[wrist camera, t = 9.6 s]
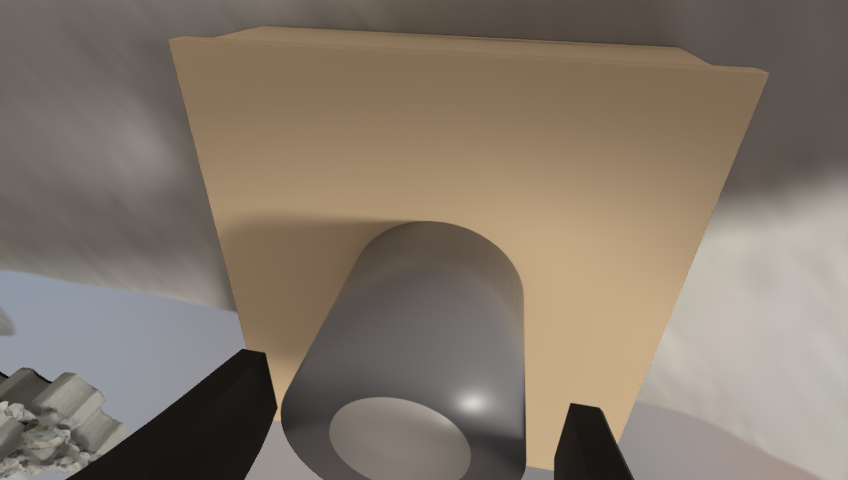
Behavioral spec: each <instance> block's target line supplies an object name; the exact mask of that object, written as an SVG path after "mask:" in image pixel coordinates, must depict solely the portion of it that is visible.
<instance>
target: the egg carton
mask: <svg viewBox="0 0 848 480" xmlns="http://www.w3.org/2000/svg"><path fill="white" fill-rule="evenodd" d="M104 402H105V399H104V397H103V395H102V394H101V392H100V391H99V390H98V389H96V388H95V387H93V386H91V385H90V384H88V383H87V382H85V381H84V380H83V379H82V378H81V377H80V376H79V375H78V374H77V373H70V372H64V373H63V374H62V375H60V376H59V377H58V378H57V379H56V380H55V381H54V382H52V381H49V380H47V379H45V378H44V377H42V376H41V375H39V374H38V373H37V372H36V371H35V370H34V369H31V368H25V367H23V368H21V369H19V370H18V371H16V372H15V373H14V374H13V375H12V376H10V377H9V376H7V375H5V374H4V373H2V372H0V478H3V477H5V478H7V477H9V476H11V475H13V474H14V473H16V472H17V471H26V472H30V473H31V474H39V473H41V472H43V471H48V472H56V471H60V472H62V473H64V474H75V473H77V472H78V471H80V470H81V469H83V468H84V467H86V466H87V465H89V464H90V463H92V462H93V461H95V460H96V459H98V458H99V457H101V456H102V455H104V454H105V453H107V452H108V451H109V450H111V449H112V448H114V447H115V446H116V445H117V444H118V443H119V442H120V441H121V440H122V438H123V437H124V436H125V435H126V434H127V431H126V429H125V427H124V425H123V422H119V421H117V420H116V419H113V418H112V417H110V416H109V415H108V414H106V413H105V412H104V411H103V410H102V409H101V407H100V405H101V404H102V403H104Z"/></svg>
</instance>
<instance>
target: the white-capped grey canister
mask: <svg viewBox="0 0 848 480" xmlns="http://www.w3.org/2000/svg"><path fill="white" fill-rule="evenodd" d="M280 413H281V423H282V427H283V431H284V434H285V436H286V438H287V440H288V442H289V444H290V445H291V447H292V449H293V450H294V452H295V453H296V454H297V455H298V457H299V458H300V459H301V460H302V461H303V462H304V463H305V464H306V465H307V466H308V467H309V468H310V469H311V470H312V471H313V472H315V473H316V474H317V475H318V476H319V477H321V478H322V479H323V480H521V479H522V476H523V474H524V472H525V466H526V462H527V460H526V399H525V338H524V292H523V286H522V282H521V279H520V277H519V274H518V272H517V270H516V268H515V266H514V265H513V263H512V262H511V261H510V259H509V258H508V257H507V255H506V254H505V253H504V252H503V251H502V250H501V249H500V248H499V247H497V246H496V245H495V244H494V243H492V242H491V241H490V240H488V239H487V238H485V237H483V236H482V235H480V234H478V233H476V232H474V231H472V230H469V229H467V228H464V227H461V226H458V225H454V224H449V223H445V222H435V221H419V222H412V223H406V224H403V225H399V226H396V227H393V228H391V229H389V230H386V231H385V232H383V233H381V234H380V235H378V236H377V237H375V238H374V239H373V240H372V241H371V242H370V243H369V244H368V245H367V246H366V247H365V248H364V249H363V251H362V252H361V254H360V256H359V257H358V259H357V261H356V263H355V265H354V267H353V268H352V270H351V272H350V274H349V276H348V278H347V280H346V281H345V283H344V285H343V287H342V289H341V291H340V292H339V294H338V296H337V298H336V300H335V302H334V304H333V305H332V307H331V309H330V311H329V313H328V315H327V317H326V318H325V320H324V322H323V324H322V326H321V328H320V330H319V331H318V333H317V335H316V337H315V339H314V341H313V342H312V344H311V346H310V348H309V350H308V352H307V354H306V355H305V357H304V359H303V361H302V363H301V365H300V367H299V368H298V370H297V372H296V374H295V376H294V378H293V380H292V381H291V383H290V385H289V387H288V389H287V391H286V393H285V395H284V398H283V400H282V404H281V411H280Z"/></svg>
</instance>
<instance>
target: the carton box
mask: <svg viewBox="0 0 848 480" xmlns="http://www.w3.org/2000/svg"><path fill="white" fill-rule="evenodd" d="M214 38H230V39H248V40H266V41H284V42H302V43H320V44H338V45H356V46H374V47H392V48H410V49H428V50H445V51H463V52H481V53H499V54H517V55H535V56H553V57H571V58H589V59H607V60H625V61H643V62H661V63H679V64H697V65H711V64H709V63H707V62H705V61H703V60H701V59H699V58H698V57H696V56H694V55H692V54H690V53H688V52H686V51H685V50H683V49H681V48H679V47H661V46H642V45H623V44H603V43H584V42H565V41H545V40H526V39H507V38H487V37H468V36H449V35H429V34H410V33H391V32H371V31H352V30H333V29H313V28H294V27H275V26H259V27H255V28H251V29H247V30H242V31H238V32H234V33H230V34H226V35H222V36H218V37H214Z"/></svg>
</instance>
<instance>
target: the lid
mask: <svg viewBox="0 0 848 480" xmlns="http://www.w3.org/2000/svg"><path fill="white" fill-rule="evenodd" d="M168 42H169V46H170V50H171V54H172V58H173V62H174V66H175V70H176V73H177V77H178V81H179V85H180V89H181V93H182V97H183V101H184V105H185V109H186V113H187V117H188V120H189V124H190V128H191V132H192V136H193V140H194V144H195V148H196V152H197V156H198V160H199V164H200V167H201V171H202V175H203V179H204V183H205V187H206V191H207V195H208V199H209V203H210V207H211V211H212V214H213V218H214V222H215V226H216V230H217V234H218V238H219V242H220V246H221V250H222V254H223V258H224V261H225V265H226V269H227V273H228V277H229V281H230V285H231V289H232V293H233V297H234V301H235V305H236V308H237V312H238V316H239V320H240V324H241V328H242V332H243V336H244V340H245V344H246V348H247V350H253V351H259V352H265V353H266V357H267V362H268V366H269V370H270V375H271V379H272V384H273V388H274V392H275V397H276V401H277V406H278V409H277V411H276V414H275V416H274V419H273V420H274V421H280V422H281V413H280V411H281V404H282V400H283V398H284V395H285V393H286V391H287V389H288V387H289V385H290V383H291V381H292V380H293V378H294V376H295V374H296V372H297V370H298V368H299V367H300V365H301V363H302V361H303V359H304V357H305V355H306V354H307V352H308V350H309V348H310V346H311V344H312V342H313V341H314V339H315V337H316V335H317V333H318V331H319V330H320V328H321V326H322V324H323V322H324V320H325V318H326V317H327V315H328V313H329V311H330V309H331V307H332V305H333V304H334V302H335V300H336V298H337V296H338V294H339V292H340V291H341V289H342V287H343V285H344V283H345V281H346V280H347V278H348V276H349V274H350V272H351V270H352V268H353V267H354V265H355V263H356V261H357V259H358V257H359V256H360V254H361V252H362V251H363V249H364V248H365V247H366V246H367V245H368V244H369V243H370V242H371V241H372V240H373V239H374V238H375V237H377V236H378V235H380V234H381V233H383V232H385V231H386V230H389V229H391V228H393V227H396V226H399V225H403V224H406V223H412V222H419V221H435V222H445V223H449V224H454V225H458V226H461V227H464V228H467V229H469V230H472V231H474V232H476V233H478V234H480V235H482V236H483V237H485V238H487V239H488V240H490V241H491V242H492V243H494V244H495V245H496V246H497V247H499V248H500V249H501V250H502V251H503V252H504V253H505V254H506V255H507V257H508V258H509V259H510V261H511V262H512V263H513V265H514V266H515V268H516V270H517V272H518V274H519V277H520V279H521V282H522V286H523V292H524V338H525V399H526V460H527V462H526V466H531V467H537V468H542V469H547V470H553V471H554V456H555V453H556V450H557V446H558V443H559V439H560V436H561V433H562V429H563V426H564V423H565V419H566V416H567V413H568V409H569V406H570V403H576V404H582V405H588V406H594V407H599V408H600V409H601V410H602V411H603V413H604V415H605V418H606V420H607V422H608V425H609V427H610V429H611V431H612V434H613V436H614V438H615V440H616V443H617V444H618V441H619V439H620V437H621V434H622V432H623V429H624V427H625V424H626V422H627V420H628V417H629V415H630V412H631V410H632V408H633V405H634V403H635V400H636V398H637V395H638V393H639V391H640V388H641V386H642V383H643V381H644V378H645V376H646V374H647V371H648V369H649V366H650V364H651V361H652V359H653V357H654V354H655V352H656V349H657V347H658V344H659V342H660V340H661V337H662V335H663V332H664V330H665V327H666V325H667V323H668V320H669V318H670V315H671V313H672V310H673V308H674V306H675V303H676V301H677V298H678V296H679V293H680V291H681V289H682V286H683V284H684V281H685V279H686V276H687V274H688V272H689V269H690V267H691V264H692V262H693V259H694V257H695V254H696V252H697V250H698V247H699V245H700V242H701V240H702V237H703V235H704V233H705V230H706V228H707V225H708V223H709V220H710V218H711V216H712V213H713V211H714V208H715V206H716V203H717V201H718V199H719V196H720V194H721V191H722V189H723V186H724V184H725V182H726V179H727V177H728V174H729V172H730V169H731V167H732V165H733V162H734V160H735V157H736V155H737V152H738V150H739V148H740V145H741V143H742V140H743V138H744V135H745V133H746V131H747V128H748V126H749V123H750V121H751V118H752V116H753V114H754V111H755V109H756V106H757V104H758V101H759V99H760V97H761V94H762V92H763V89H764V87H765V84H766V82H767V79H768V77H769V75H770V73H767V72H765V71H763V70H760V69H758V68H751V67H733V66H715V65H697V64H679V63H661V62H643V61H625V60H607V59H589V58H571V57H553V56H535V55H517V54H499V53H481V52H463V51H445V50H428V49H410V48H392V47H374V46H356V45H338V44H320V43H302V42H284V41H266V40H248V39H230V38H212V37H194V36H180V37H176V38H171V39H168Z"/></svg>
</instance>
